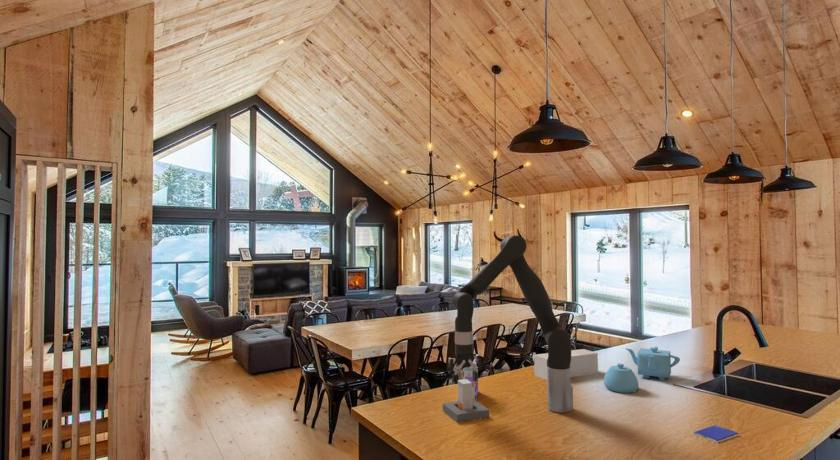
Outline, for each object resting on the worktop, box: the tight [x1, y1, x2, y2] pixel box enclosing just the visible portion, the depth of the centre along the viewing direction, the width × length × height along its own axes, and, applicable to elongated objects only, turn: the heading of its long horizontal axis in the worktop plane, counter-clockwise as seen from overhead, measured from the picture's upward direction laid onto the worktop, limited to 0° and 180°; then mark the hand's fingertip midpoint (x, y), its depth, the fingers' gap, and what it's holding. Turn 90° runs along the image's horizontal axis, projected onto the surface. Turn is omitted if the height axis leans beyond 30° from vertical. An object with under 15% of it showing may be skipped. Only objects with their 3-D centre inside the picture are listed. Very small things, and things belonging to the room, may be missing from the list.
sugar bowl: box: [603, 362, 639, 394], centre depth 214 cm, size 15×15×12 cm
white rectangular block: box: [533, 348, 599, 381], centre depth 240 cm, size 32×11×11 cm, turn 111°
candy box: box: [462, 359, 479, 401], centre depth 207 cm, size 14×6×16 cm, turn 168°
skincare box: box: [457, 378, 473, 411], centre depth 185 cm, size 6×4×12 cm
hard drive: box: [693, 424, 739, 444], centre depth 161 cm, size 2×8×12 cm
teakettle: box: [624, 346, 681, 382], centre depth 233 cm, size 19×19×15 cm
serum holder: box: [442, 399, 490, 423], centre depth 185 cm, size 14×14×3 cm
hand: (465, 382), depth 185 cm, fingers open, 8 cm apart
